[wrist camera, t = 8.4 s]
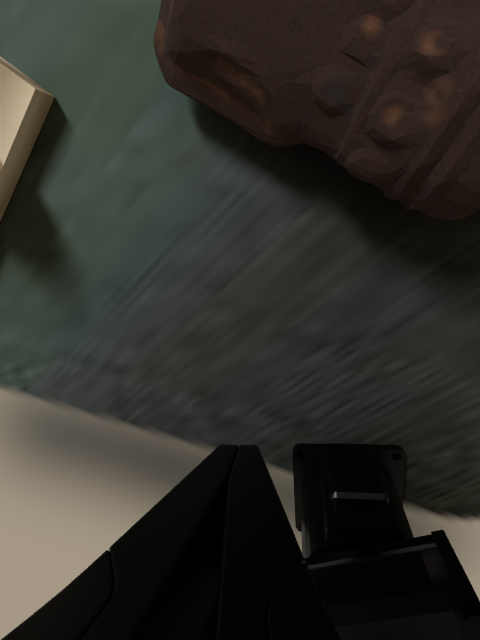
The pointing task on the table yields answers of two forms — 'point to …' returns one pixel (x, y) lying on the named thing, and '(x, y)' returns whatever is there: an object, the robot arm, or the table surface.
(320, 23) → the brown curved lump
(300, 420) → the table surface
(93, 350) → the table surface
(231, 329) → the table surface
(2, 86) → the pipe rig
